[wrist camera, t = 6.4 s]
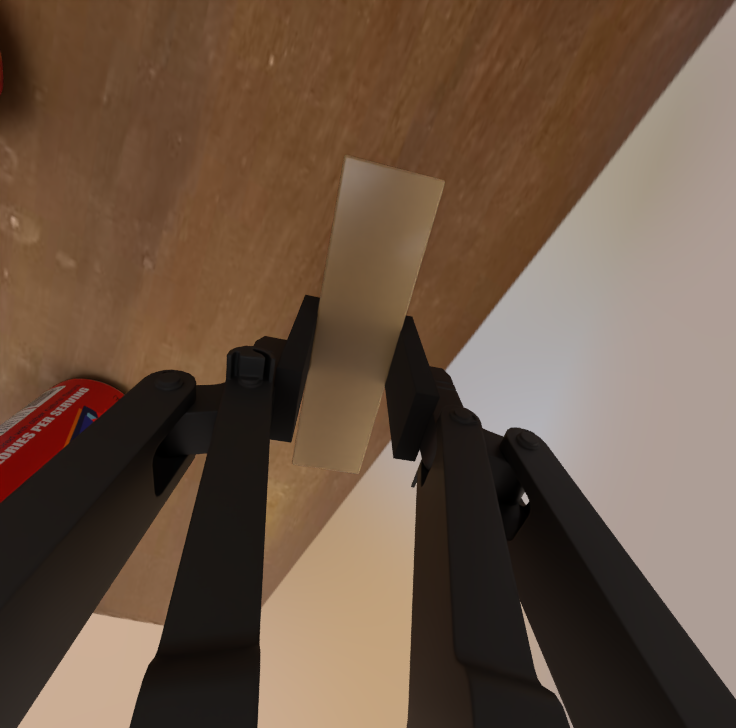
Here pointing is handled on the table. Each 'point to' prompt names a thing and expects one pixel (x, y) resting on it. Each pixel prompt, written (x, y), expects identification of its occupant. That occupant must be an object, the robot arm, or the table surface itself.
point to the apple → (1, 74)
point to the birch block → (362, 307)
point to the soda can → (49, 427)
